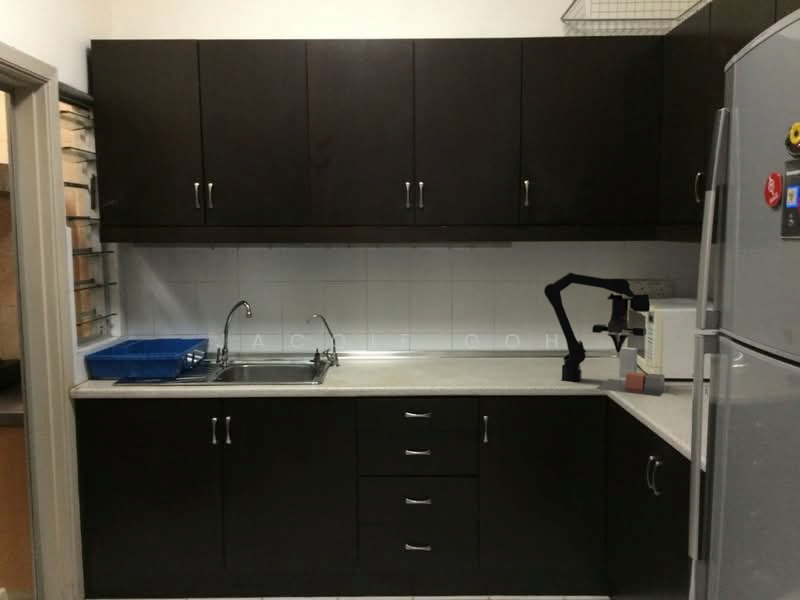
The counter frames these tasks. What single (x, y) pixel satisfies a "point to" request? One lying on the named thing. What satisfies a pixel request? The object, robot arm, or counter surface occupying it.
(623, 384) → the coupler
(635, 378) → the block
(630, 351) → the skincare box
